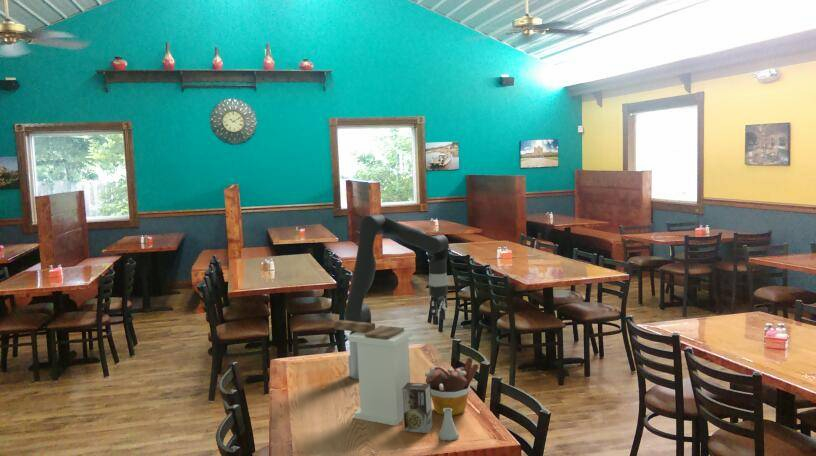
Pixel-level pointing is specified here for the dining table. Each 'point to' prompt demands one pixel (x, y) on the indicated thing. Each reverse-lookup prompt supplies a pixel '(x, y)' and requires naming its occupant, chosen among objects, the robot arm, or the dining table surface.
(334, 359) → the dining table surface
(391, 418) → the display stand
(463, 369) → the bucket of meat
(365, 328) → the wooden cutting board
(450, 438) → the flask
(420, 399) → the coffee box
